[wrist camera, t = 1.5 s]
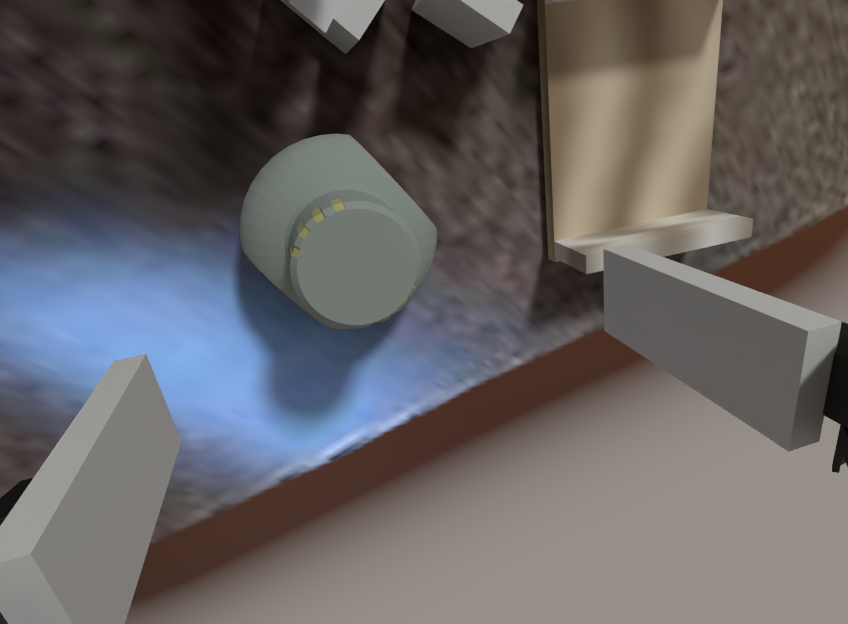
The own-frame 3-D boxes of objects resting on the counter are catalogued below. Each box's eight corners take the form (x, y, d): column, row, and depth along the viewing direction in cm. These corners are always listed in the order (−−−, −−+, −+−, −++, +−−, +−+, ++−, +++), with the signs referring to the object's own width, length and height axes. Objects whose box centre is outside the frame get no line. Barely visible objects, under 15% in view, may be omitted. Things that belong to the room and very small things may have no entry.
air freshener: (218, 210, 29) (189, 250, 20) (318, 107, 29) (334, 101, 20) (352, 327, 34) (378, 402, 25) (441, 240, 34) (500, 284, 24)
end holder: (548, 258, 36) (586, 278, 31) (535, -23, 29) (581, -49, 25) (695, 226, 38) (750, 241, 34) (713, -42, 32) (785, -69, 27)
